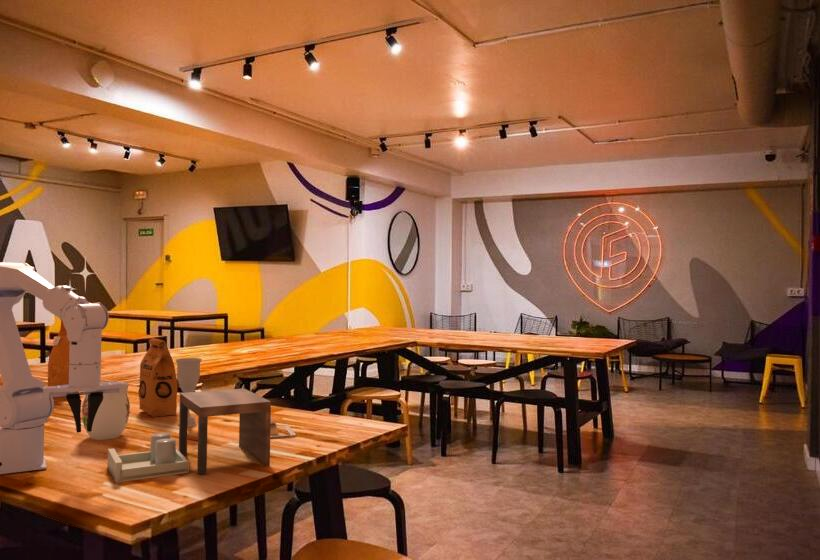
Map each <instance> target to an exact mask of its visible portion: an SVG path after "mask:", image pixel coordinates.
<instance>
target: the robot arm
mask: <svg viewBox="0 0 820 560" xmlns="http://www.w3.org/2000/svg"><path fill="white" fill-rule="evenodd" d="M27 293H28V294H30V295H32V296H34V297H36V298H37V299H39V300H41V301H42V306H43V308H44V309H45V310H46V311H48V312H49V313H51V314H53V315H54V316H55V317H57V318H59V320H60V319H61V320H63V324H64V327H65V329H66V331H67V338H68V341H70V349H69V385H60V386H50V387H48V386H46V383H45V382H44V381H42V380H41V379H39V378H37V377H35V376H33V375H32V372H31V368H30V365H29V361H28V358H27V355H26V351H25V349H24V346H23V342H22V338H21V335H20V331H19V327H18V325H17V322H16V319H15V316H14V312H13V307H14V306H15V305H17V304H18V303H20V301H21V300H22V299H23V298H24V296H25V294H27ZM109 315H110V314H109V312H108V309H107V307H106V306H104V305H103V303H102V302H96V301H95V302H92V303H91V302H89V301H88V300H87V298H86V297H84V296H80V295H78V294H77V293H75V292H74V291H72V288H71V286H69V285H57V286H54V285H52V284H51V283H50V282H49V281H47V280H46V279H45V278H43V277H42V276H41V275H39V273H37V272H36V269H35V267H34V266H31V265H30V264H28V263H27V262H24V261H21V262H7V261H5V262H0V376H1V377H0V378H1V381H2V385H1V386H0V475H6V474H14V473H22V472H31V471H40V470H41V471H42V470H46V469H47V462H46V461H47V460H46V458H45V457H44V455H45V424H46V423H48V421H49V420H48V419H49V418H50V417H51V416H52V414H53V412H54V410H55V401H54V398H57V397H65V399H66V401H67V404H68V406H69V407H70V409H71V413H72V415H73V419H74V423H75V431H76V434H77V433H82V421H81V418H82V400H81V396H85V395H88V416H87V431H88V432H89V431H92V425H93V421H94V418H95V415H96V413H97V410H98V408H99V406H100V404H101V403H102V401H103V394H104V393H124V387H125V384H124V383H123V382H124V381H114V382H115V383H101V382H102V380H101V377H102V376H101V374H102V336H103V335H102V331H103V330H104V329H105V328H106V327H107V326H108V323H109ZM61 320H60V321H61ZM87 391H91V392H87ZM74 392H76V393H74Z"/></svg>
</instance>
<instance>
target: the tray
mask: <svg viewBox="0 0 820 560" xmlns="http://www.w3.org/2000/svg"><path fill="white" fill-rule="evenodd" d="M189 466H190V461H189V460H188V459H187V457H185V455H182V454H181V453H180V452H179V448H177V439H175V438H171V433H168V432H161V433H160V432H159V433H158V432H157V433H154V434H151V435H150V451H140V452H132V453H123V454H118V453H117V451H116V449H115V448H107V469H108V471H109V473H110V474H111V477H112V479H113V481H114V483H122V482H128V481H137V480H143V479H144V480H145V479H150V478H151V479H152V478H159V477H167V476H172V475H173V476H174V475H180V474H181V475H182V474H187V473H188V474H189V471H190V470H189Z"/></svg>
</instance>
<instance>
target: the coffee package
mask: <svg viewBox="0 0 820 560" xmlns="http://www.w3.org/2000/svg"><path fill="white" fill-rule="evenodd" d="M148 344H149V345H150V346H149V348H148V350H147V351H146V352H145V354H144V356H143V358H142V359H141V360H140V365H139V389H138V390H137V391H138V393H137V394H138V399H139V410H141V411H143V412H144V413H146V414H147V415H149V416H151V417H153V418H156V417H165V416H167V417H168V416H174V415H175V416H177V411H178V410H177V409H178V405H177V401H178V400H177V399H178V398H177V397H178V379H177V372H176V368H175V367H176V366H175V363H174V360H173V358H172V357H173V356H172V355H171V353H170V350H169V348H168V345H167V343H166V341H165V340H162V339H159V338H154V337H152V338H150V339H149V340H148Z"/></svg>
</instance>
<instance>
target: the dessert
mask: <svg viewBox="0 0 820 560" xmlns="http://www.w3.org/2000/svg"><path fill="white" fill-rule="evenodd" d="M277 428H282V429H284V430H285V429H286V430H287V431H288V432H289V433H290V435H289V433H288V432H287V431H286V430H285V431H286V432H287V433H288V434H286V435H285V434H284V435H278V434H279V431H278V430H279V429H277ZM291 436H293V437H295V436H297V433H295V431H294V429H292V427H291V426H290V425H289V424H283V425H282V424H281V425H277V423H276V422H275V421H274V419H273V418H272V417H271V427H270V439H279V438H292V437H291Z"/></svg>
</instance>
